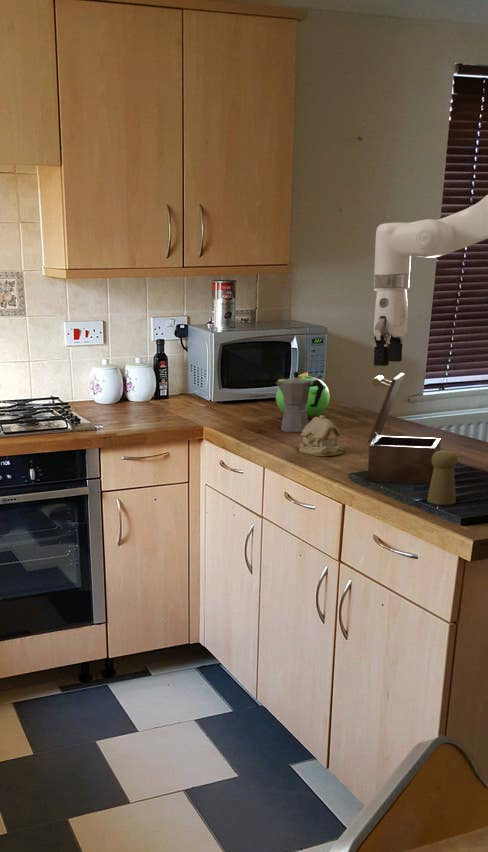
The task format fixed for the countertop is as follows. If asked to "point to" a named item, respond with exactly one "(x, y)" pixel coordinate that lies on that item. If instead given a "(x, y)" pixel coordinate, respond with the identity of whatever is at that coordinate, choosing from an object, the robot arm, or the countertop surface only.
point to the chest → (402, 459)
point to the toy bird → (311, 397)
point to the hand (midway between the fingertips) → (387, 363)
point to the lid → (385, 402)
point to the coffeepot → (297, 402)
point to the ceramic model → (320, 438)
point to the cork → (443, 478)
